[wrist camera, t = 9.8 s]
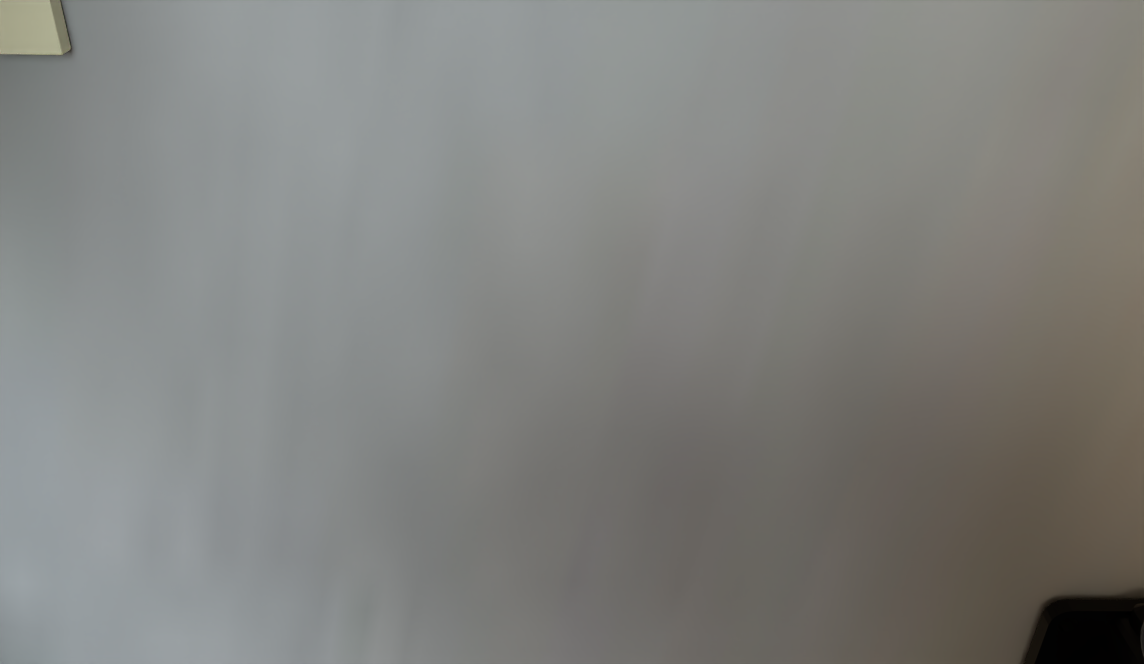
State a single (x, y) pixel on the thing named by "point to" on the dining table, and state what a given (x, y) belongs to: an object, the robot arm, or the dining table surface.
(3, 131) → the dining table surface
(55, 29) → the placemat
